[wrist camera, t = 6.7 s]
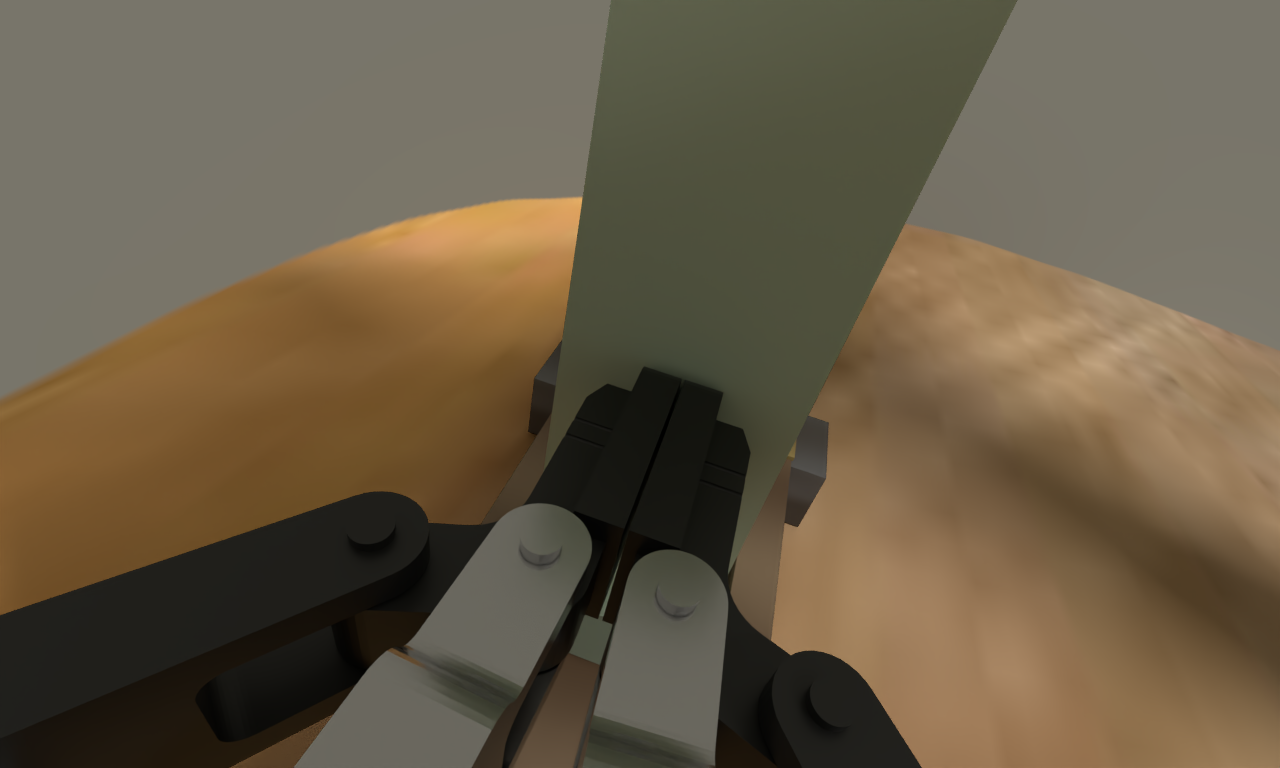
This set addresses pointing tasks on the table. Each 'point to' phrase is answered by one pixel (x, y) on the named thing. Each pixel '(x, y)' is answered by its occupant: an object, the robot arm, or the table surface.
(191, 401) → the table surface
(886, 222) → the block
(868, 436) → the table surface
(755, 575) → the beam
